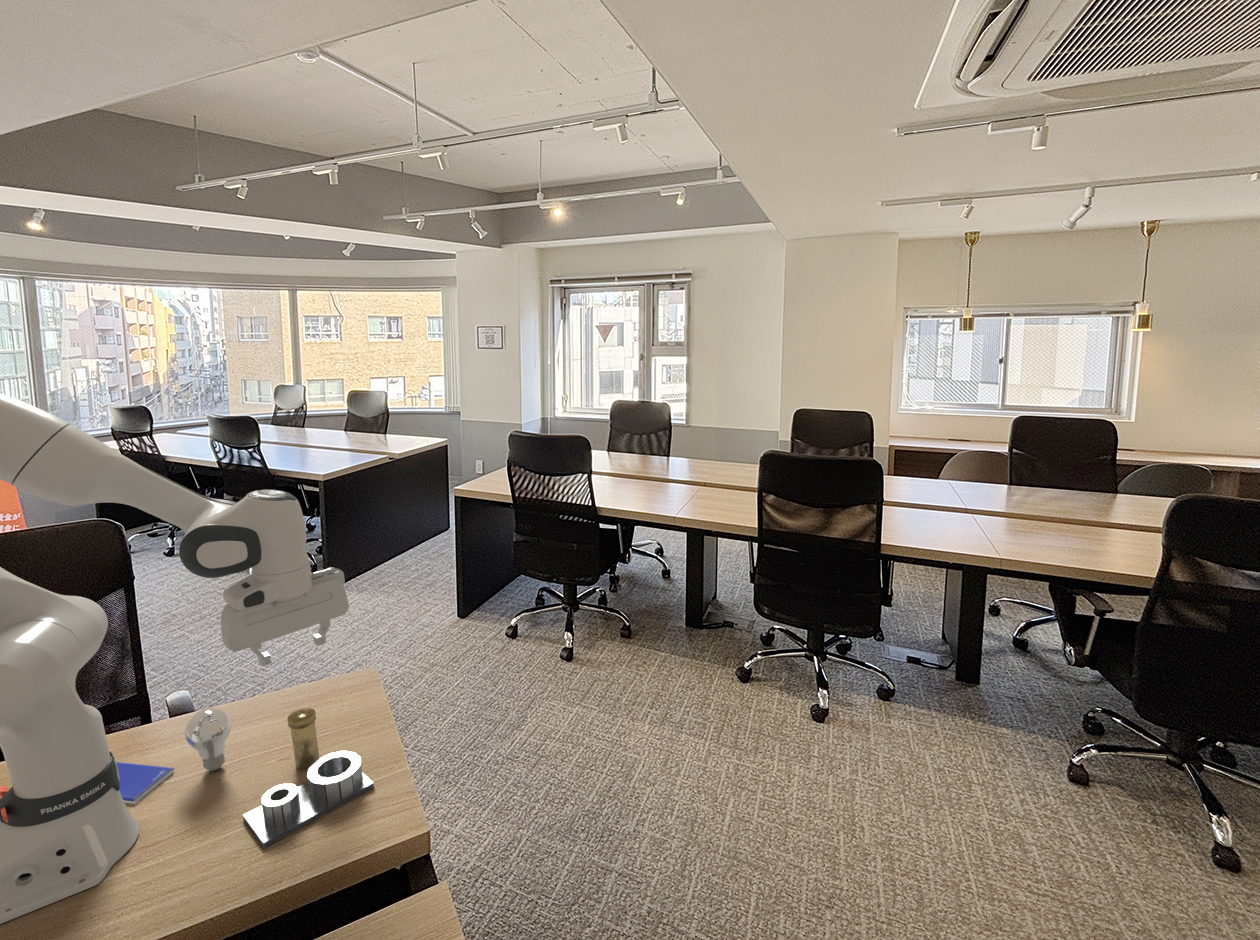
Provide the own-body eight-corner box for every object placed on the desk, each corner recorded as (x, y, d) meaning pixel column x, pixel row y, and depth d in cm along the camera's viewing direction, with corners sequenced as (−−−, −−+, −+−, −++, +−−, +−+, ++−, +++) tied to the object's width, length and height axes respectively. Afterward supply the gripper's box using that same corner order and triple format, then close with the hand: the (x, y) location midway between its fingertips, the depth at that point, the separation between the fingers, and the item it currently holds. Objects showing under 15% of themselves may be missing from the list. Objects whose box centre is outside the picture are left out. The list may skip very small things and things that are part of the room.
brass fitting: (300, 775, 117) (293, 726, 114) (289, 763, 120) (283, 716, 117) (325, 762, 120) (319, 714, 118) (315, 751, 123) (309, 705, 121)
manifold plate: (264, 848, 100) (260, 824, 99) (243, 819, 106) (239, 796, 105) (374, 787, 113) (371, 765, 112) (350, 764, 119) (347, 743, 118)
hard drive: (173, 766, 117) (114, 760, 119) (133, 798, 110) (71, 791, 111) (175, 774, 118) (116, 767, 120) (135, 806, 110) (73, 799, 112)
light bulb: (216, 784, 114) (205, 725, 112) (183, 779, 116) (172, 720, 113) (246, 759, 121) (237, 702, 118) (214, 754, 122) (205, 698, 120)
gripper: (335, 560, 121) (342, 627, 124) (211, 594, 106) (224, 670, 110) (350, 568, 117) (358, 637, 120) (224, 605, 102) (237, 683, 105)
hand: (293, 653), depth 115 cm, fingers open, 8 cm apart
